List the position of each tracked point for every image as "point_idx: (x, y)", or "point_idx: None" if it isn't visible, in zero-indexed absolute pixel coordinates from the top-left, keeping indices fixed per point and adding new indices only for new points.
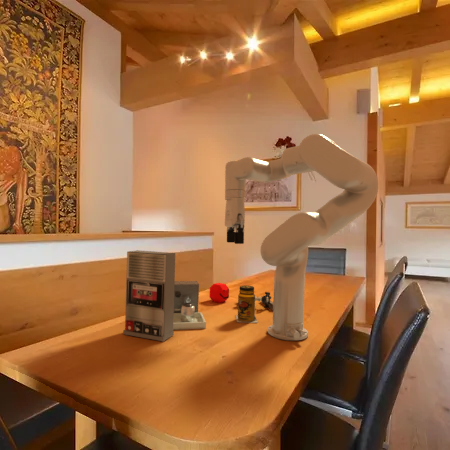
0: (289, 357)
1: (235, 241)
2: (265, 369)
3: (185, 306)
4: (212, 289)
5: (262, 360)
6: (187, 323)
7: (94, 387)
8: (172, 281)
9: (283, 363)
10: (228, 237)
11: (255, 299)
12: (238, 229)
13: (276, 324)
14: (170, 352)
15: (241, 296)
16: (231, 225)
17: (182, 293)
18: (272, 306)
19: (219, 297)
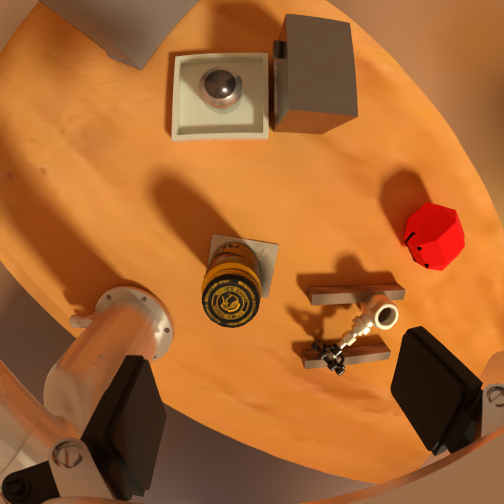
0: (42, 278)
1: (122, 367)
2: (14, 228)
3: (209, 76)
4: (435, 212)
5: (32, 232)
6: (173, 93)
7: (23, 30)
8: (73, 13)
9: (27, 261)
10: (425, 364)
11: (352, 329)
12: (47, 466)
13: (109, 307)
14: (69, 80)
15: (213, 268)
16: (68, 499)
17: (282, 62)
18: (306, 357)
19: (408, 229)
